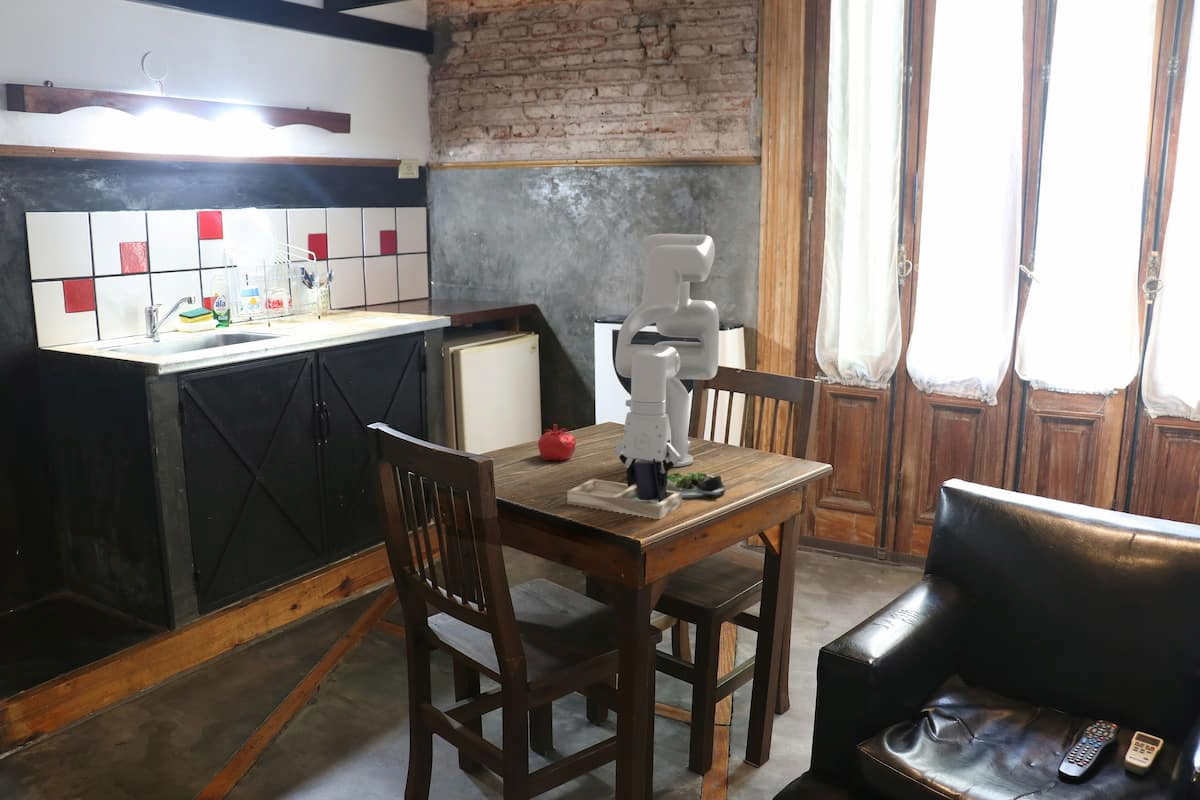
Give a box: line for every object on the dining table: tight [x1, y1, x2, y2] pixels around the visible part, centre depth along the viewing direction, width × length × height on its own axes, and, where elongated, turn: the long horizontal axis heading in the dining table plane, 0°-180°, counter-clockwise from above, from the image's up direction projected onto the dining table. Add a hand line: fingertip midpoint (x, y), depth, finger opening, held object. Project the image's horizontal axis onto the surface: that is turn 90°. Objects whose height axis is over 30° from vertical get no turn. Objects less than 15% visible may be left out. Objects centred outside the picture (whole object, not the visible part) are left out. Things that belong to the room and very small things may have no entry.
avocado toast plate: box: [666, 471, 727, 499], centre depth 234 cm, size 19×18×5 cm
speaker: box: [634, 459, 667, 502], centre depth 218 cm, size 8×6×10 cm
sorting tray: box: [566, 478, 683, 520], centre depth 222 cm, size 12×23×3 cm, turn 62°
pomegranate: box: [537, 423, 577, 462], centre depth 261 cm, size 10×10×9 cm
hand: (646, 486), depth 219 cm, fingers closed on speaker, 6 cm apart
